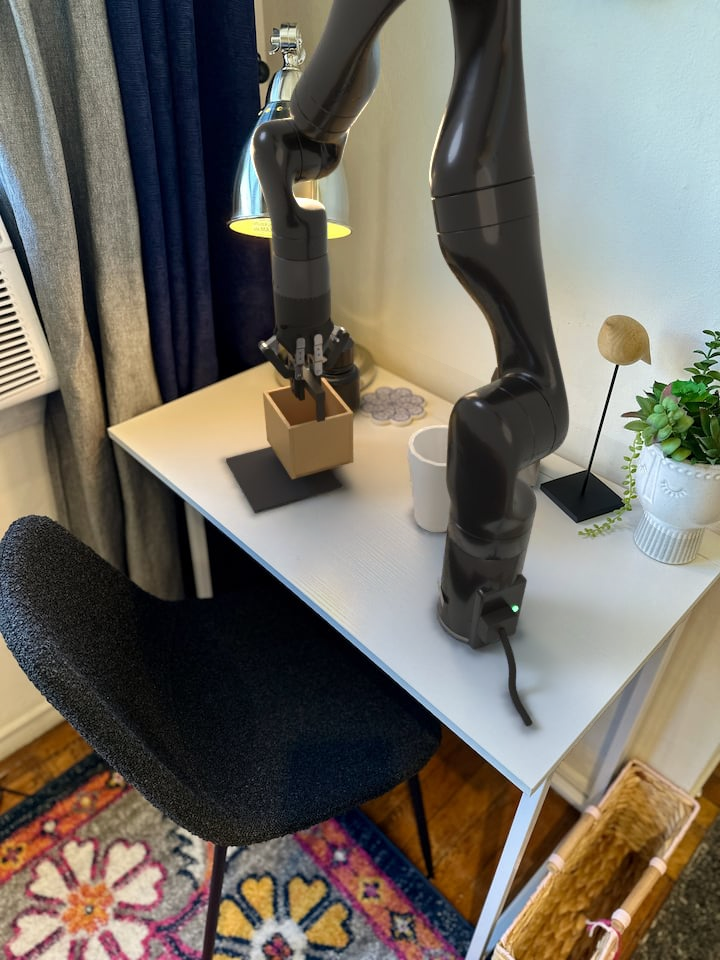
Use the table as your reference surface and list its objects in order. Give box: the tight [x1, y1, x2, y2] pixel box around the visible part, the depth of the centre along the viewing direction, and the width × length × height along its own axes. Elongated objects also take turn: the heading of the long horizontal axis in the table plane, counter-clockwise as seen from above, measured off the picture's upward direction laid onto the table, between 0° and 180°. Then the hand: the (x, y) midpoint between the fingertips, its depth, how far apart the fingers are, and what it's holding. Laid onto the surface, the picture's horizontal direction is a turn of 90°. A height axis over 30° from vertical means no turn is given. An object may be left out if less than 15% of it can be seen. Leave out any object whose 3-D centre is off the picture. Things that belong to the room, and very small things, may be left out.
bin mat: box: [225, 446, 343, 514], centre depth 112 cm, size 14×14×1 cm
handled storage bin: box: [262, 357, 354, 479], centre depth 107 cm, size 11×10×14 cm
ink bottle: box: [321, 336, 361, 412], centre depth 124 cm, size 10×9×12 cm
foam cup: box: [406, 424, 450, 533], centre depth 100 cm, size 10×9×13 cm
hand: (306, 396), depth 105 cm, fingers closed on handled storage bin, 1 cm apart
